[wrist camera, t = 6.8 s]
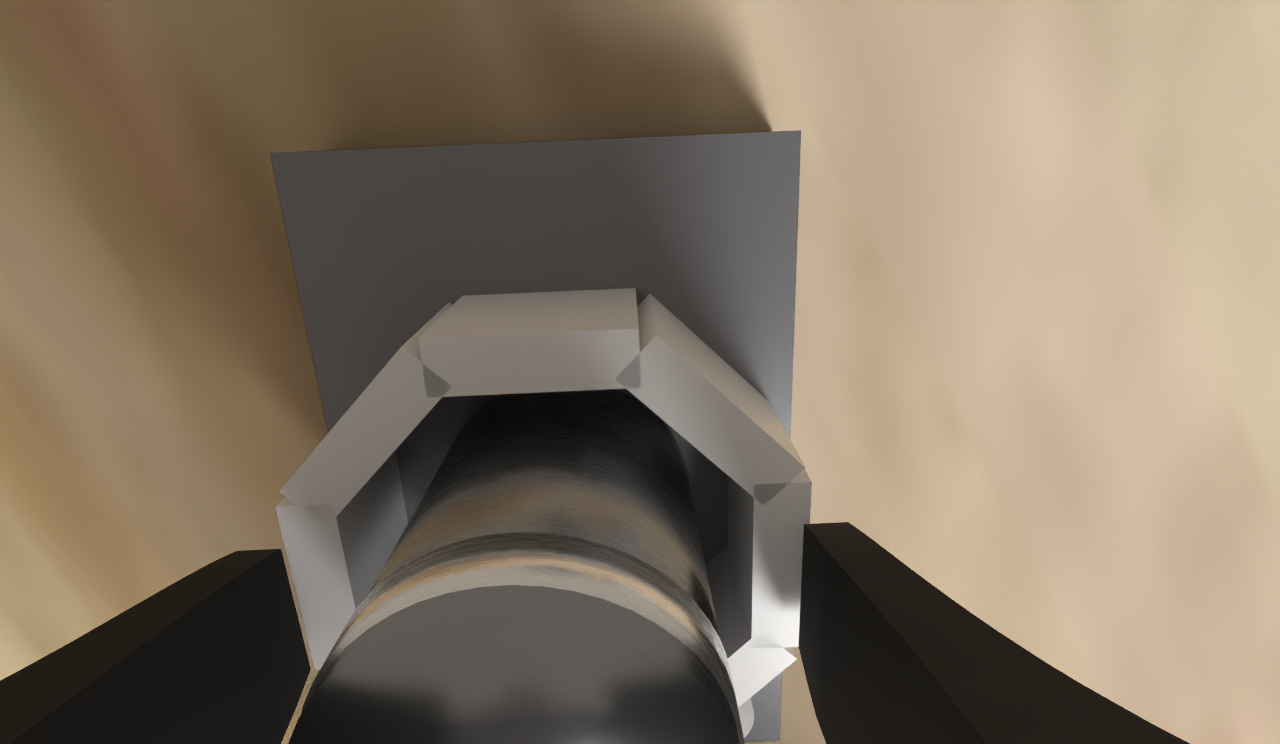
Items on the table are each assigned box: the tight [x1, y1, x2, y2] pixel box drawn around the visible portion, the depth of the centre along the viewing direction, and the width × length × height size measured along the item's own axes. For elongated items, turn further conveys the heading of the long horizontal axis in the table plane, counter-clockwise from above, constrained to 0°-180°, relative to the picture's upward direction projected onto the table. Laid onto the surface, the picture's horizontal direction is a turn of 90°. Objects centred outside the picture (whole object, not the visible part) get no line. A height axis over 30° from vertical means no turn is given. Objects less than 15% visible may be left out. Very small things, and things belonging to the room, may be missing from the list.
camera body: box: [270, 131, 812, 742], centre depth 12 cm, size 12×8×4 cm, turn 2°
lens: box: [289, 389, 744, 744], centre depth 9 cm, size 4×4×6 cm
